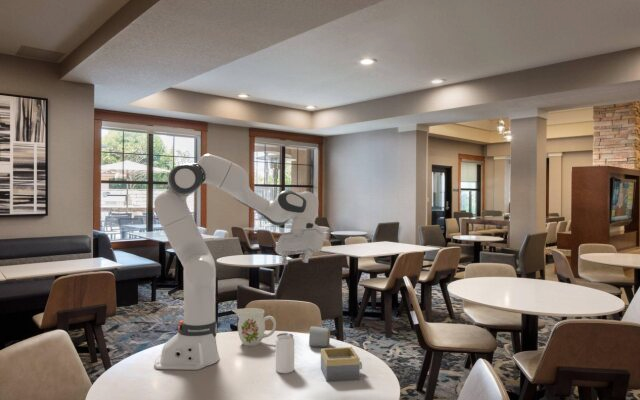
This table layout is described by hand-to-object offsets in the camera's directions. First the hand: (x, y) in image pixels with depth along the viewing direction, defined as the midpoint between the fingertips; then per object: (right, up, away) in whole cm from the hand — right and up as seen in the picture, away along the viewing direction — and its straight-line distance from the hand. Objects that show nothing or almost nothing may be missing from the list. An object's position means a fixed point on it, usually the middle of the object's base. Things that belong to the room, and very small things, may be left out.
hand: (294, 263), depth 163 cm
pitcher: (-18, -35, +16) cm, 43 cm away
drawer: (+16, -35, -15) cm, 42 cm away
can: (-3, -36, -12) cm, 38 cm away
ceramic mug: (+9, -36, +15) cm, 40 cm away
